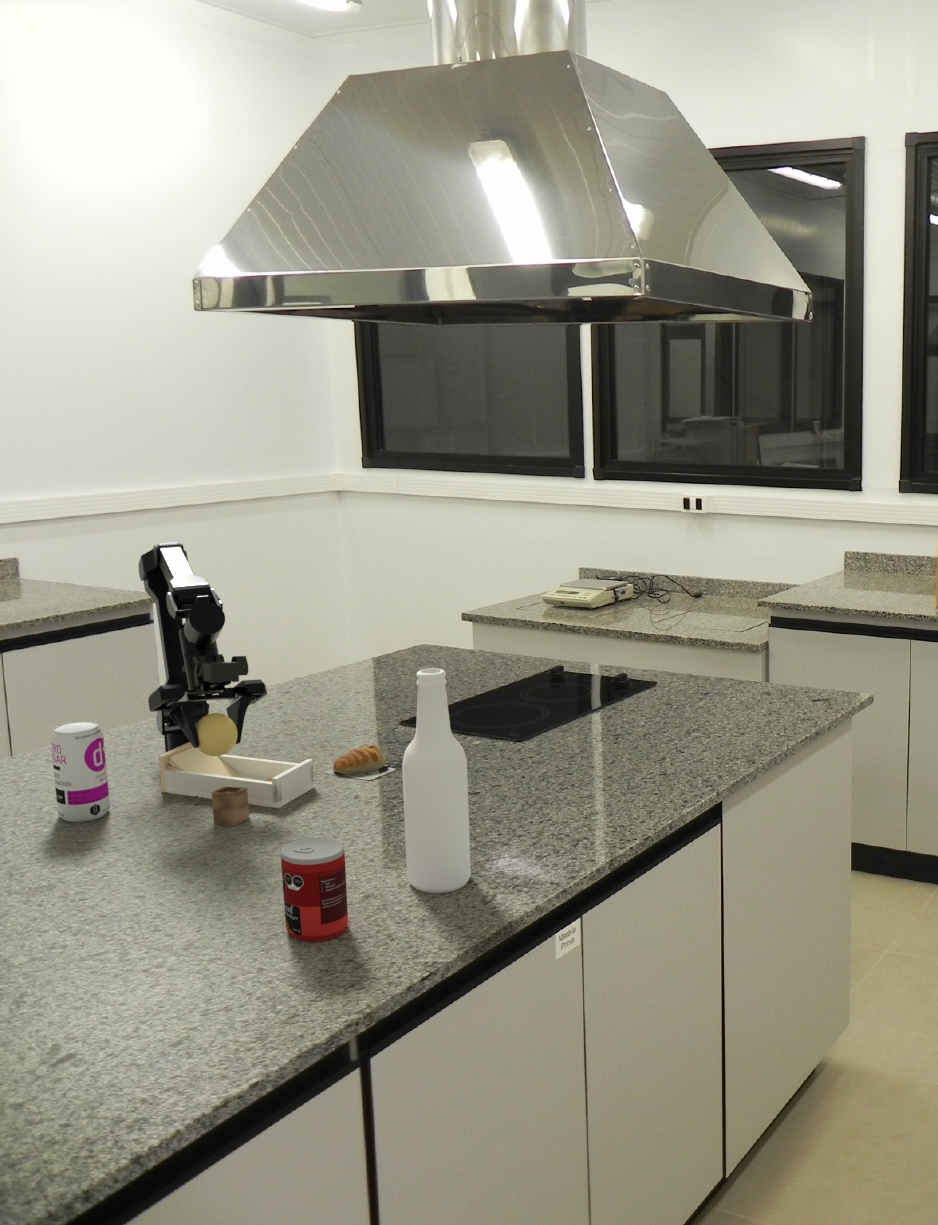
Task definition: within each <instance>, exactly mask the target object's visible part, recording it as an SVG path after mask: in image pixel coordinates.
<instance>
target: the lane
mask: <svg viewBox="0 0 938 1225" xmlns="http://www.w3.org/2000/svg"><path fill="white" fill-rule="evenodd" d="M158 766H159V777H160V789H161V793H166V792H167V794H173V795H181V796H186V797H187V796H189V797H195V796H198V797H197V798H202V797H203V798H204V799H209V800H212V792H214V791H216V790H218V789H220V788H222V787H224V786H226V785H231V786H238V787H246V788H247V793H248V805H251V806H252V805H253V806H261V807H267V808H276V809H280V808H282V807H283V806H285V805H287V804H288V803H290V802H292V801H293V800H296V799H297V798H299V797H300V796H302V795H304V794H305V793H307V792H309V791H311V790H312V789H314V788H315V777H314V775H315V774H314V760H313V758H312V759H311V758H306V759H305V760H303V761H300V763H298V762H291V761H290V762H289V761H282V760H273V759H265V758H256V757H247V756H242V755H241V756H239V755H232V754H224V755H221V756H209V755H206V754H204V753H203V752H201V751H200V750H199V749H198V748H194V747H193V745H192V744H191V742H188V743H186V744H184V745H182V746H179V747H177V748H175V749H173V750H171V751H168V752H165V753H161V754H159V755H158Z"/></svg>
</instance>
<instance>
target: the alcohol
mask: <svg viewBox="0 0 938 1225" xmlns="http://www.w3.org/2000/svg"><path fill="white" fill-rule="evenodd" d="M446 675H447V672H446V670H444V669H441V668H438V667H437V668H435V667H431V668H429V667H428V668H423V669H419V670H418V671H417V672H416V675H415V676H416V677H417V679H416V685H417V696H416V697H417V698H416V701H417V704H416V724H415V725H416V728H415V734H414V737H413V739H412V740H411V742H410V743H409V744H408V746H407V747H406V749H405V750H404V755H403V758H402V759H403V760H402V763H401V764H402V765H401V768H402V770H401V771H402V784H403V785H402V786H403V787H402V788H403V789H402V790H403V809H404V810H403V811H404V813H403V814H404V832H405V834H404V835H405V854H406V855H405V856H406V877H407V878H406V879H407V880H408V882H409V883H410V884H411V886H412V887H413V889H415V890H417V891H419V892H421V893H428V894H445V893H453V892H454V891H457V890H458V891H459V889H462V888H463V887H465V886H466V885H467V883H468V881H469V880H470V878H471V870H472V869H471V868H472V867H471V846H470V844H471V842H470V815H469V813H470V812H469V810H470V809H469V786H468V781H469V780H468V760H467V757H466V753H465V749H464V748H463V745H461V744H460V742H459V741H458V740H457V739H456V737H454V735H453V732H452V729H451V721H450V713H449V705H448V704H449V703H448V696H447V687H446V685H447V679H446Z"/></svg>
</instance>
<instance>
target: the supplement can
mask: <svg viewBox="0 0 938 1225" xmlns="http://www.w3.org/2000/svg"><path fill="white" fill-rule="evenodd" d="M50 747H51V748H50V749H51V755H52V756H51V757H52V758H51V759H52V766H53V769H52V770H53V777H54V788H55V797H56V805H57V815H58V817H59V818H62V820H64V821H66V822H71V823H82V822H83V823H84V822H88V821H94V820H96V819H101V818H102V817H103V816H105V815H106V814H107V812H108V811H109V810H110V808H111V804H110V803H111V802H110V793H109V784H108V783H109V782H108V780H109V779H108V770H107V760H106V750H105V739H104V732H103V730H102V728H101V727H100V726H99V723H98V722H96V721H94V720H93V721H92V720H76V721H75V720H74V721H70V722H69V721H68V722H64V723H61V724H59V725H56V726H54V727H53V731H52V733H51V736H50Z"/></svg>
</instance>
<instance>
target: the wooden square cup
mask: <svg viewBox="0 0 938 1225" xmlns="http://www.w3.org/2000/svg"><path fill="white" fill-rule="evenodd" d="M211 802H212V803H211V804H212V814H213V824H217V825H223V826H228V827H229V826H230V827H237V826H238V825H240V824H241V823H243V822H245V821H247V820H248V819H250V812H249V809H250V808H249V804H248V793H247V788H246V787H238V786H231V785H226V786H224V787H222V788H220V789H218V790H216V791H214V792H212V799H211Z"/></svg>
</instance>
